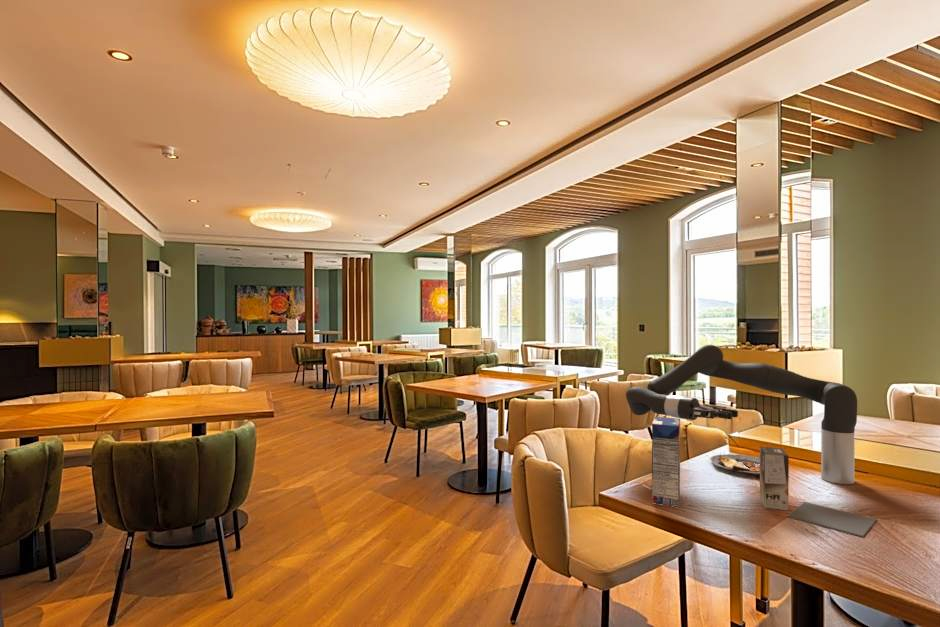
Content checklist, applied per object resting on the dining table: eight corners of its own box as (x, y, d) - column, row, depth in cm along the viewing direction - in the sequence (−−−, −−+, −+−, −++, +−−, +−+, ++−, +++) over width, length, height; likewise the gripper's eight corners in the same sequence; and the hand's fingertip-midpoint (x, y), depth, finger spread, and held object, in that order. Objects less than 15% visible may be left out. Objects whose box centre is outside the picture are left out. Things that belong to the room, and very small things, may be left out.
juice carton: (654, 491, 161) (655, 416, 161) (679, 494, 158) (680, 418, 158) (651, 504, 150) (652, 423, 150) (678, 508, 147) (679, 426, 147)
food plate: (793, 481, 171) (793, 471, 171) (718, 476, 178) (718, 466, 178) (771, 463, 195) (771, 453, 195) (706, 458, 202) (706, 449, 202)
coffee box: (789, 511, 146) (789, 455, 146) (764, 508, 148) (764, 453, 148) (782, 500, 154) (782, 447, 154) (758, 497, 156) (758, 445, 156)
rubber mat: (804, 503, 152) (804, 501, 152) (876, 520, 139) (876, 519, 139) (787, 517, 141) (787, 515, 141) (863, 537, 128) (863, 535, 128)
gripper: (671, 398, 167) (725, 405, 155) (691, 394, 177) (743, 400, 164) (671, 421, 167) (725, 430, 155) (691, 415, 177) (743, 423, 164)
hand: (734, 414), depth 159 cm, fingers open, 4 cm apart
